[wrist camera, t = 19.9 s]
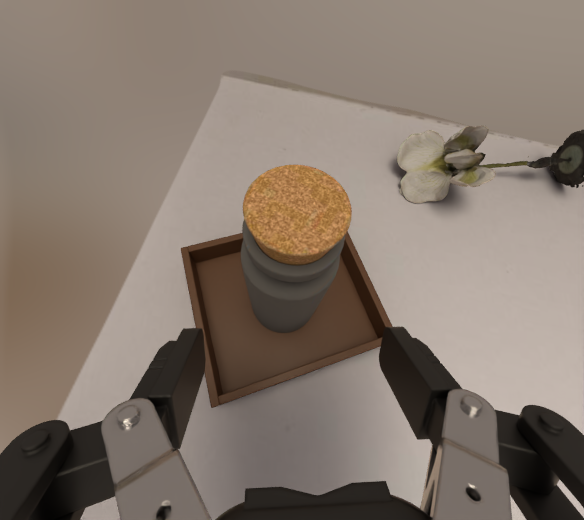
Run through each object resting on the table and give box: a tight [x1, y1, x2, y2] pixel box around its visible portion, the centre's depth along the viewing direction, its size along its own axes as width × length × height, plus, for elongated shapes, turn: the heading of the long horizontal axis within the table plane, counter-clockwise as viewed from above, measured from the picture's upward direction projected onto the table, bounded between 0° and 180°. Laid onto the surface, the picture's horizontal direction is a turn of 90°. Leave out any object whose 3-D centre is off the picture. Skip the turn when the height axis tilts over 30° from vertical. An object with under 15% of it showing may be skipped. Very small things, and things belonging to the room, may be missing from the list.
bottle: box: [241, 165, 352, 333], centre depth 18 cm, size 6×6×15 cm
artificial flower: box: [397, 126, 584, 203], centre depth 31 cm, size 9×22×10 cm, turn 91°
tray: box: [181, 232, 392, 408], centre depth 24 cm, size 15×13×3 cm
